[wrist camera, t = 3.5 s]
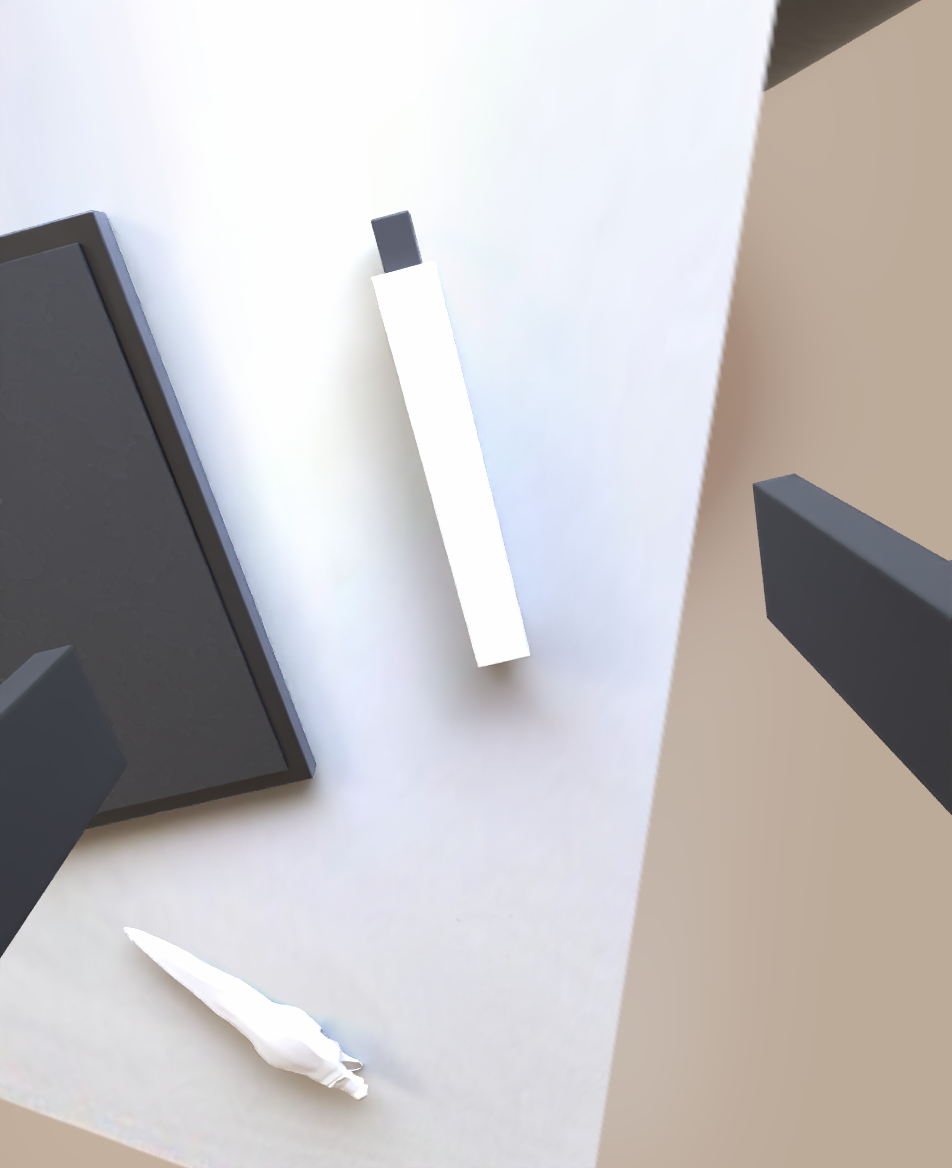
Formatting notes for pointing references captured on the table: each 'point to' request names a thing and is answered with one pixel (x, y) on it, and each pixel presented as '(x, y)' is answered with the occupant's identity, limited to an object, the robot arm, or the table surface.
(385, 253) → the white rectangular bar
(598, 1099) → the table surface
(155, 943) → the white tapered piece
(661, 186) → the table surface
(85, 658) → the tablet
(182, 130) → the table surface
